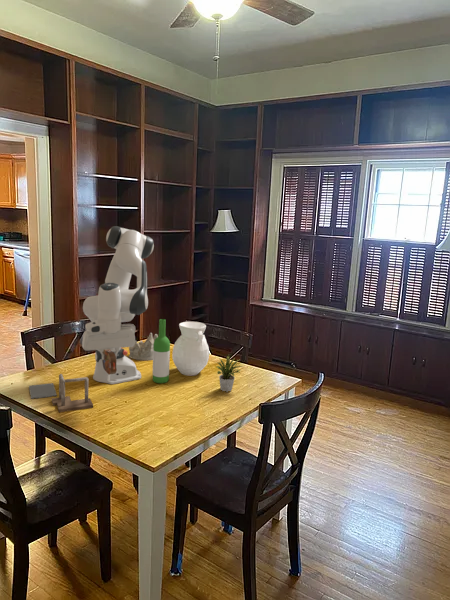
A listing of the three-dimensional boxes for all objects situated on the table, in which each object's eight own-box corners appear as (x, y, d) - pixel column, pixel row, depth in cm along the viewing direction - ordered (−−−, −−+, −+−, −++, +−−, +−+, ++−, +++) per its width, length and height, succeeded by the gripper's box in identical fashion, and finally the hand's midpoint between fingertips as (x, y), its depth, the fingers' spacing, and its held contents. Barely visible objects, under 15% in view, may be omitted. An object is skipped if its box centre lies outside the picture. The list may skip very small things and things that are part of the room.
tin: (102, 367, 185) (100, 347, 184) (109, 366, 186) (108, 346, 185) (110, 377, 172) (108, 356, 170) (118, 375, 173) (117, 354, 172)
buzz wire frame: (87, 396, 192) (87, 369, 190) (93, 407, 182) (93, 379, 179) (51, 400, 186) (51, 373, 183) (55, 412, 175) (54, 383, 173)
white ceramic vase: (215, 375, 226) (217, 327, 222) (183, 381, 216) (185, 330, 211) (196, 364, 241) (198, 318, 237) (165, 369, 231) (167, 321, 226)
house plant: (225, 399, 197) (228, 364, 194) (203, 390, 206) (205, 356, 203) (246, 391, 208) (249, 357, 204) (224, 382, 217) (226, 350, 214)
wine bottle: (171, 380, 216) (174, 319, 211) (163, 385, 209) (165, 322, 204) (158, 376, 219) (159, 317, 214) (149, 381, 212) (150, 320, 207)
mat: (53, 384, 203) (53, 383, 203) (56, 396, 191) (56, 394, 191) (28, 386, 198) (28, 385, 198) (31, 399, 186) (31, 397, 186)
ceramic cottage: (165, 354, 255) (164, 328, 252) (149, 363, 240) (148, 336, 237) (142, 351, 261) (140, 326, 258) (125, 360, 246) (123, 333, 243)
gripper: (133, 321, 183) (132, 353, 186) (81, 324, 174) (81, 358, 176) (137, 325, 178) (137, 358, 180) (84, 328, 168) (84, 364, 171)
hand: (109, 358), depth 178 cm, fingers closed on tin, 3 cm apart
